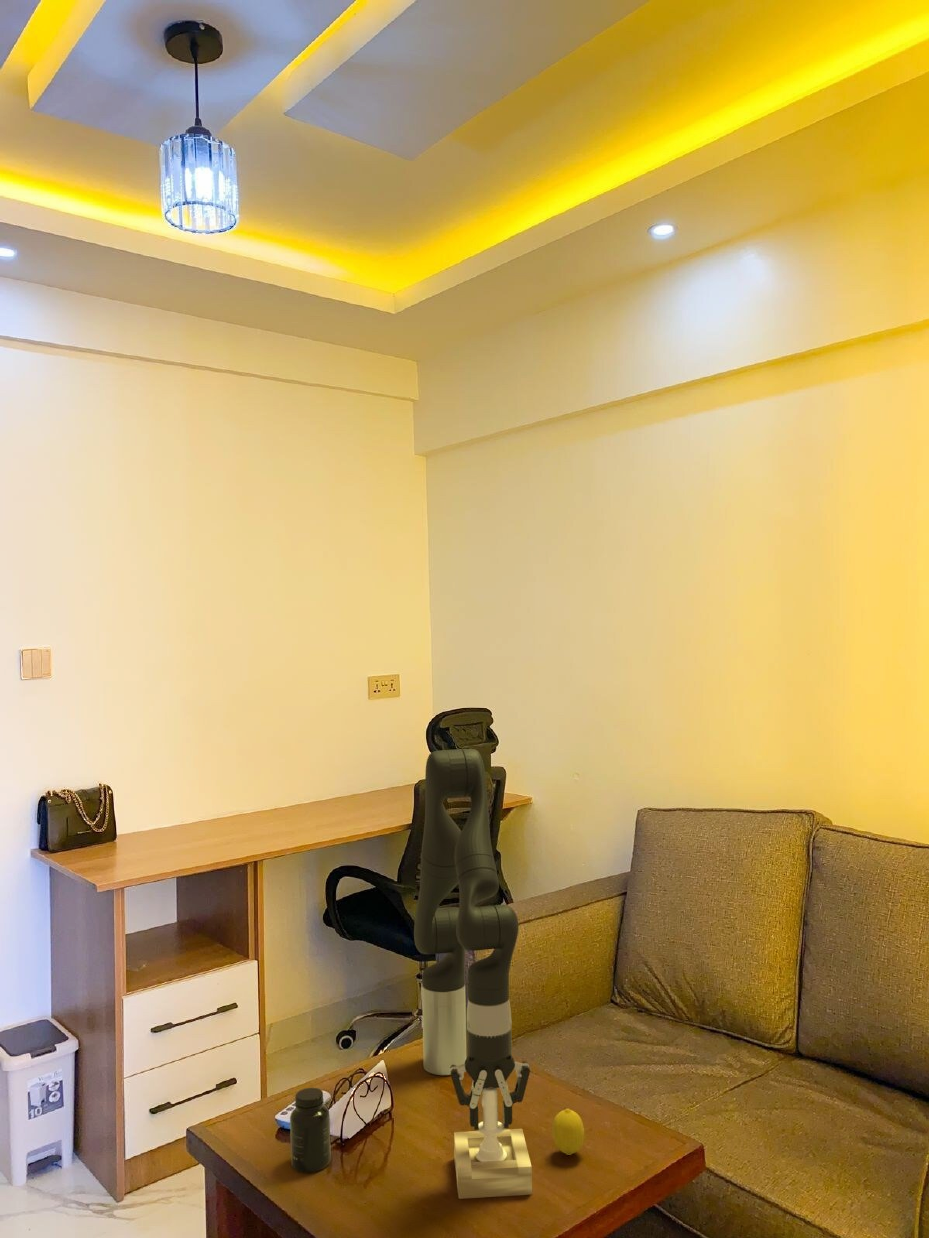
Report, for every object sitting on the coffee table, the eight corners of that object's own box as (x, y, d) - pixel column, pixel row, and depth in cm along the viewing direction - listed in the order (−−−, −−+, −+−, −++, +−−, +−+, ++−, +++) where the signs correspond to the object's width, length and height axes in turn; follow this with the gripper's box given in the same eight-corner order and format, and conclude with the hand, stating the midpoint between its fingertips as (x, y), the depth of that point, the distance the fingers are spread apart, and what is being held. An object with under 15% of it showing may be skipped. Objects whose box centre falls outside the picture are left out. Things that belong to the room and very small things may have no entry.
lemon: (549, 1160, 163) (548, 1114, 164) (557, 1144, 169) (556, 1099, 169) (580, 1166, 162) (579, 1118, 162) (587, 1149, 167) (586, 1103, 167)
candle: (483, 1167, 156) (482, 1094, 156) (470, 1151, 161) (469, 1080, 161) (512, 1159, 158) (510, 1087, 158) (498, 1144, 163) (497, 1074, 163)
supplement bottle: (315, 1148, 169) (314, 1080, 169) (338, 1162, 164) (337, 1092, 164) (283, 1163, 164) (282, 1093, 164) (305, 1178, 159) (304, 1106, 160)
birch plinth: (454, 1158, 165) (454, 1132, 165) (522, 1154, 166) (522, 1128, 166) (458, 1198, 153) (458, 1170, 153) (532, 1194, 154) (531, 1166, 154)
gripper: (527, 1014, 164) (529, 1113, 164) (445, 1017, 163) (447, 1117, 163) (533, 1032, 157) (535, 1136, 156) (448, 1036, 156) (449, 1140, 155)
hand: (490, 1126), depth 160 cm, fingers closed on candle, 4 cm apart
